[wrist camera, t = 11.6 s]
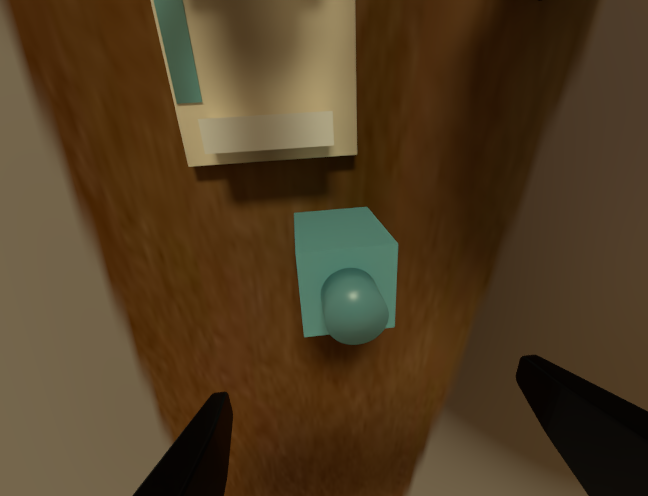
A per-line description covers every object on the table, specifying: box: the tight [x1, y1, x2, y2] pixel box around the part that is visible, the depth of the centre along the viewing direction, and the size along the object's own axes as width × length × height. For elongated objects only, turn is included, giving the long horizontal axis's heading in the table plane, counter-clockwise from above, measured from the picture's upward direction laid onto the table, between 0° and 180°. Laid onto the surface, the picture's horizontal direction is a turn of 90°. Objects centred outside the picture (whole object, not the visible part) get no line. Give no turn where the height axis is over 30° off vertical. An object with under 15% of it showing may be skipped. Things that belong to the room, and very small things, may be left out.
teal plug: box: [294, 207, 398, 345], centre depth 16 cm, size 4×4×8 cm
